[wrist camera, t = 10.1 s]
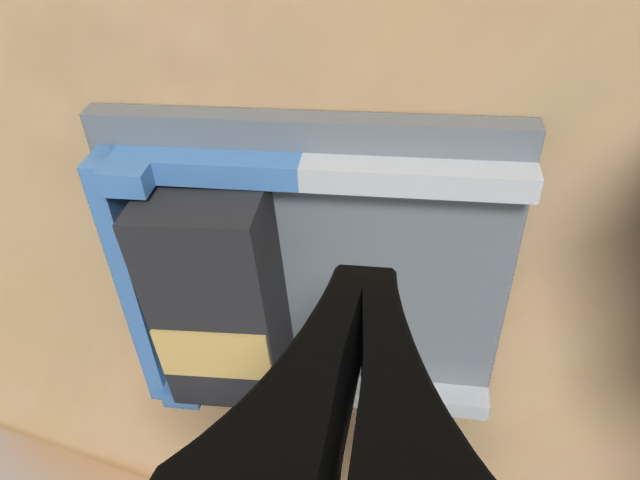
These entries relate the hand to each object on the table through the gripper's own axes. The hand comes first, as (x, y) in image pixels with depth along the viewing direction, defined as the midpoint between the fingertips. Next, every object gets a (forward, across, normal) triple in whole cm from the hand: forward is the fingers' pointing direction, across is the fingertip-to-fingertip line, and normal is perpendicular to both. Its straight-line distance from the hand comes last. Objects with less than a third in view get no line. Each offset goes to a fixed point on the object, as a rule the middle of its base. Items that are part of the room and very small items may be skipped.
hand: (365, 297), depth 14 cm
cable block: (+9, +7, +7) cm, 13 cm away
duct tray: (+10, +3, +8) cm, 13 cm away
